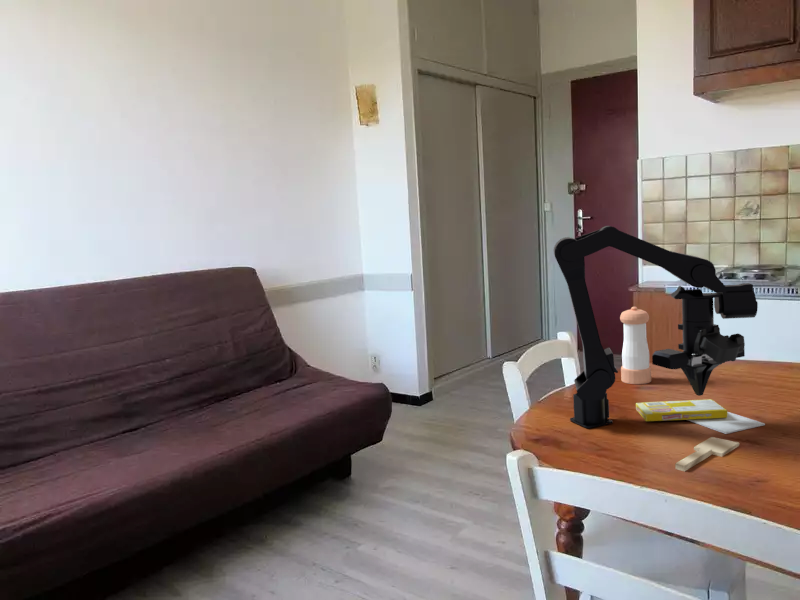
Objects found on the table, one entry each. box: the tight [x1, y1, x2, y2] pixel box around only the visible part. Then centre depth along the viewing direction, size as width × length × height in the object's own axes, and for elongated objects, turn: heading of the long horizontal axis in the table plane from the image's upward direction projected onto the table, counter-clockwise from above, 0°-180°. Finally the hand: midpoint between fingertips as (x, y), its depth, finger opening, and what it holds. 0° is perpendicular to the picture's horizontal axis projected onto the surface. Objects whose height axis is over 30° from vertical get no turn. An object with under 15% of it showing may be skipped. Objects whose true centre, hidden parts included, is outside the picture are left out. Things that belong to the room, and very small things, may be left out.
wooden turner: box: [674, 436, 740, 472], centre depth 116 cm, size 17×5×1 cm, turn 130°
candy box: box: [635, 398, 728, 422], centre depth 137 cm, size 16×2×8 cm
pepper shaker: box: [619, 306, 652, 385], centre depth 165 cm, size 7×7×19 cm
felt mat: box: [687, 411, 766, 435], centre depth 134 cm, size 10×16×1 cm, turn 20°
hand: (699, 395), depth 132 cm, fingers closed
